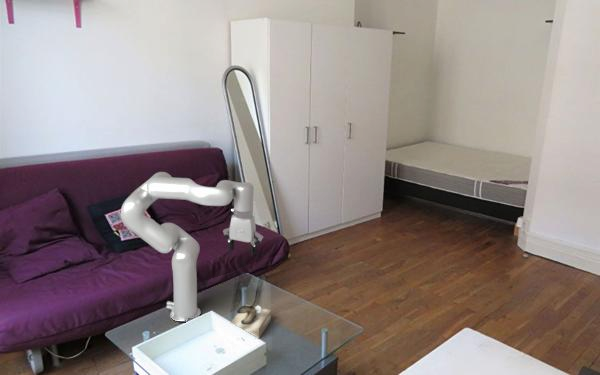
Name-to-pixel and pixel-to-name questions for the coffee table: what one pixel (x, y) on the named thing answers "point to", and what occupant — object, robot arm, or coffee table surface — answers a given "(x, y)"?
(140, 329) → the coffee table surface
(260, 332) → the pedestal
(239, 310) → the eagle figurine
